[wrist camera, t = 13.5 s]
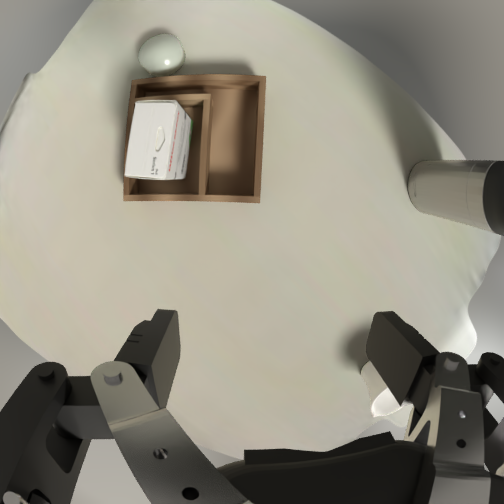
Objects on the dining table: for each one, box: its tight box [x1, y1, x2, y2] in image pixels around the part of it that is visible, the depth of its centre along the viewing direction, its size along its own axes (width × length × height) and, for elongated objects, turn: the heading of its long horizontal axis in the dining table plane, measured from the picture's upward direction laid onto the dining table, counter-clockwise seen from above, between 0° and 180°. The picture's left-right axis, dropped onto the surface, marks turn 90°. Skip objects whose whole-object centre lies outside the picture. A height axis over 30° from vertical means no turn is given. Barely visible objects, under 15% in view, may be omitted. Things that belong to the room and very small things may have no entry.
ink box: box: [124, 100, 193, 180], centre depth 30 cm, size 9×5×12 cm, turn 172°
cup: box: [361, 361, 403, 417], centre depth 43 cm, size 9×9×10 cm
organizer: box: [124, 74, 266, 203], centre depth 34 cm, size 18×17×4 cm
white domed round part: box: [138, 34, 185, 77], centre depth 31 cm, size 6×6×4 cm
